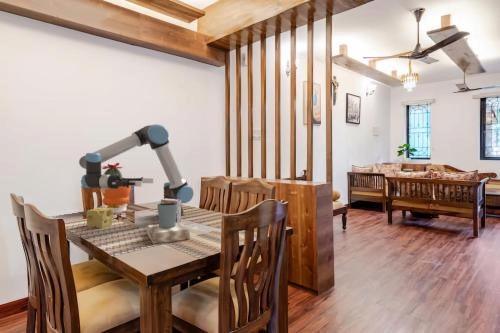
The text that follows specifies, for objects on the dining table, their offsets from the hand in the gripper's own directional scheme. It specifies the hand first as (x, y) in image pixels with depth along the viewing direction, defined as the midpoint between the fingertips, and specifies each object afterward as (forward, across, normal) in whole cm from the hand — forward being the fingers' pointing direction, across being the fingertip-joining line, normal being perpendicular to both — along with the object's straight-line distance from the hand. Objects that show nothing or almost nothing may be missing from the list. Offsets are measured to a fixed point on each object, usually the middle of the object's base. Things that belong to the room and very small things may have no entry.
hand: (147, 182), depth 166 cm
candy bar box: (+7, -15, -28) cm, 33 cm away
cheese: (-36, -11, -28) cm, 47 cm away
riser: (+12, +4, -28) cm, 31 cm away
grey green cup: (+12, +2, -23) cm, 26 cm away
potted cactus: (-51, -54, -28) cm, 80 cm away
